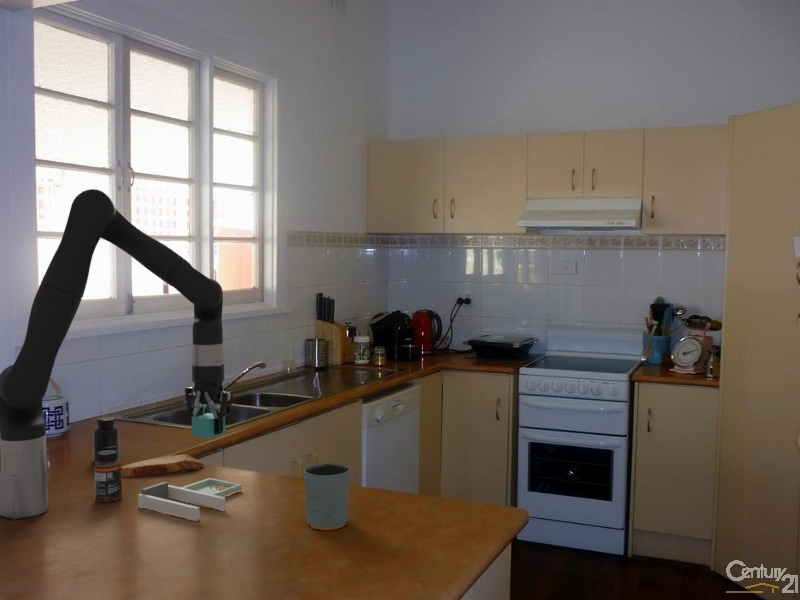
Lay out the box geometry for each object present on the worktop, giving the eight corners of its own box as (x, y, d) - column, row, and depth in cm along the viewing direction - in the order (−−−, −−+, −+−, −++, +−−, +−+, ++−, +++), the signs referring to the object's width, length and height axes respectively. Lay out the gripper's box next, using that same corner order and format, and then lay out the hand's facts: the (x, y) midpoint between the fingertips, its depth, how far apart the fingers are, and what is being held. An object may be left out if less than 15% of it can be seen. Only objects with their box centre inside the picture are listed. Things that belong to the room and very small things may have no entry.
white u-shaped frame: (196, 522, 171) (195, 504, 170) (138, 507, 180) (138, 490, 180) (225, 510, 178) (225, 493, 178) (168, 497, 188) (168, 480, 188)
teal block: (208, 438, 186) (208, 419, 185) (191, 435, 189) (191, 416, 188) (225, 433, 190) (225, 415, 190) (208, 431, 193) (208, 412, 193)
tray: (209, 503, 183) (209, 495, 183) (177, 496, 189) (177, 488, 189) (241, 491, 192) (241, 484, 192) (210, 484, 198) (210, 477, 198)
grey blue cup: (307, 533, 164) (307, 477, 163) (300, 517, 174) (300, 464, 173) (355, 529, 167) (355, 473, 166) (345, 513, 176) (345, 460, 175)
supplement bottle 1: (110, 464, 216) (109, 421, 216) (88, 463, 218) (87, 420, 217) (124, 458, 223) (123, 416, 222) (102, 456, 224) (101, 415, 224)
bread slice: (111, 476, 206) (111, 462, 206) (156, 460, 223) (156, 446, 222) (167, 484, 199) (167, 469, 199) (209, 466, 216) (209, 453, 216)
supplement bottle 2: (110, 493, 191) (109, 447, 190) (127, 497, 188) (126, 450, 187) (89, 500, 185) (88, 453, 185) (106, 504, 182) (105, 456, 182)
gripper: (174, 362, 189) (176, 431, 190) (218, 366, 181) (219, 439, 182) (198, 358, 195) (199, 425, 196) (241, 362, 188) (242, 432, 189)
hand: (209, 431), depth 189 cm, fingers closed on teal block, 5 cm apart
